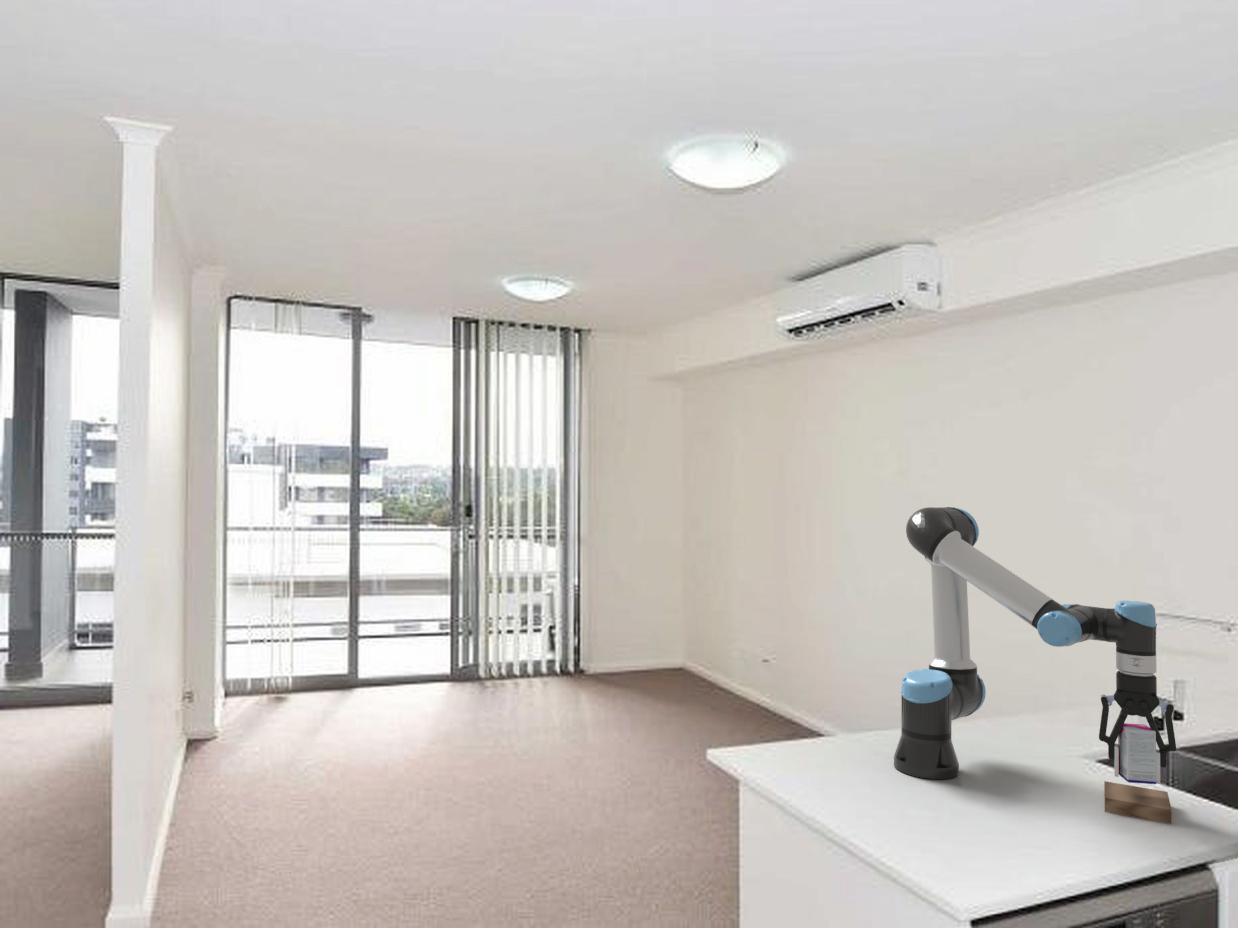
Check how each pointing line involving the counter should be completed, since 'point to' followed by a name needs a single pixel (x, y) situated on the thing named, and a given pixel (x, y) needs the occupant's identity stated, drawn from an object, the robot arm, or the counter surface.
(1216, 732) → the counter surface
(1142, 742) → the supplement box
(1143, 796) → the wooden block
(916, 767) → the robot arm
